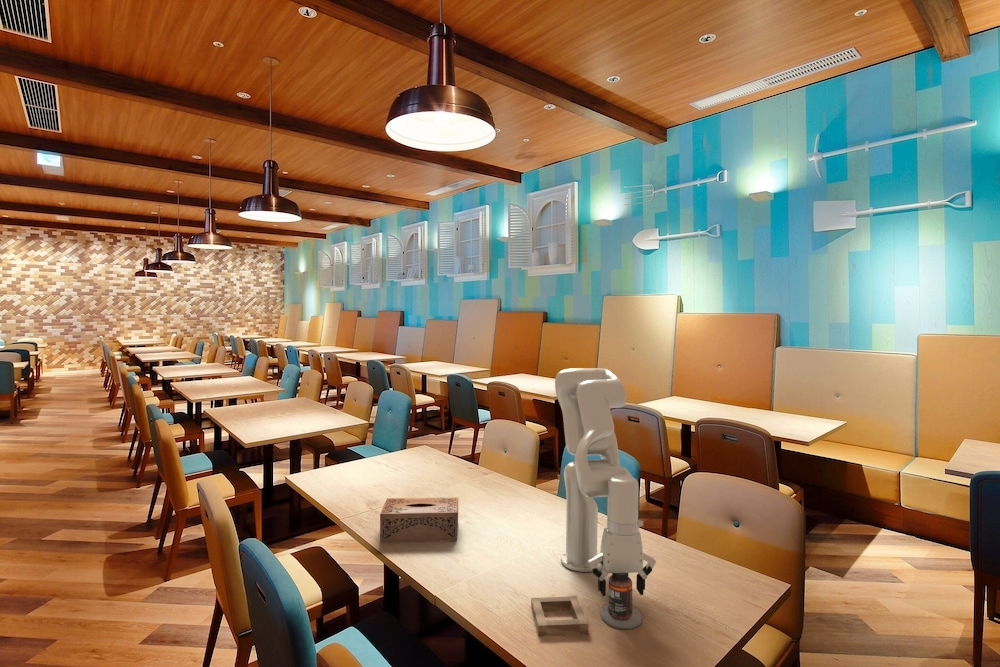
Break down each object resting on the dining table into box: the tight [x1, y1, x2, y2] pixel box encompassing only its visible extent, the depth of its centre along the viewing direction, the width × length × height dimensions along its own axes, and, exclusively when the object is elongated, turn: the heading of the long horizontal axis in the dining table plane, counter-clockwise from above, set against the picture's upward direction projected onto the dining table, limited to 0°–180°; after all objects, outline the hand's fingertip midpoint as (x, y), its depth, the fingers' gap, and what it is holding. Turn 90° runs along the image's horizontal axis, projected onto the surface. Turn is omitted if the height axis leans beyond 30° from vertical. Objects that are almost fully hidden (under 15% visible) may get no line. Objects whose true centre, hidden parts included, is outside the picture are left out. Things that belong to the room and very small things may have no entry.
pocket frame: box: [530, 595, 589, 637], centre depth 127 cm, size 12×12×2 cm
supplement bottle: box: [607, 573, 633, 620], centre depth 128 cm, size 6×6×11 cm
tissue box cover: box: [379, 496, 459, 544], centre depth 177 cm, size 26×14×10 cm, turn 94°
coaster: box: [600, 604, 642, 630], centre depth 128 cm, size 10×10×1 cm
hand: (621, 592), depth 128 cm, fingers open, 9 cm apart
